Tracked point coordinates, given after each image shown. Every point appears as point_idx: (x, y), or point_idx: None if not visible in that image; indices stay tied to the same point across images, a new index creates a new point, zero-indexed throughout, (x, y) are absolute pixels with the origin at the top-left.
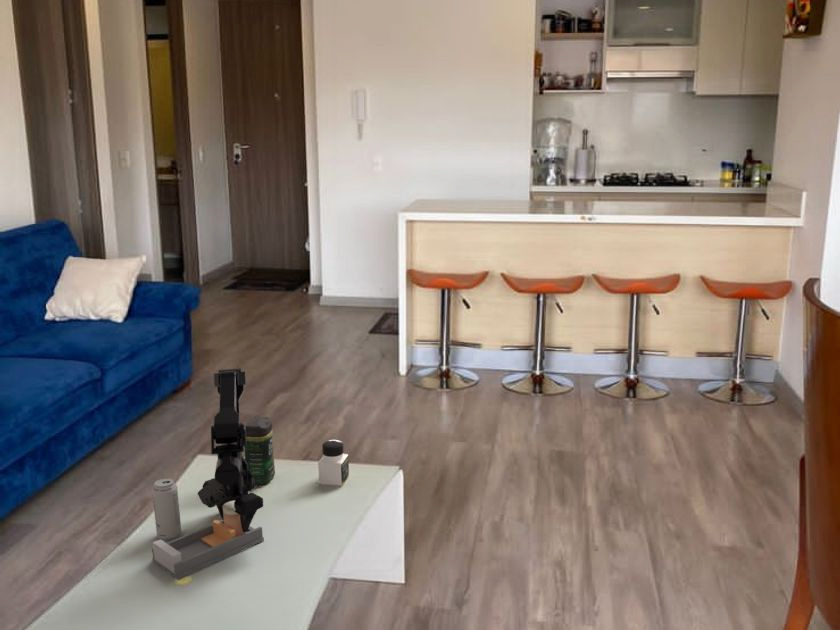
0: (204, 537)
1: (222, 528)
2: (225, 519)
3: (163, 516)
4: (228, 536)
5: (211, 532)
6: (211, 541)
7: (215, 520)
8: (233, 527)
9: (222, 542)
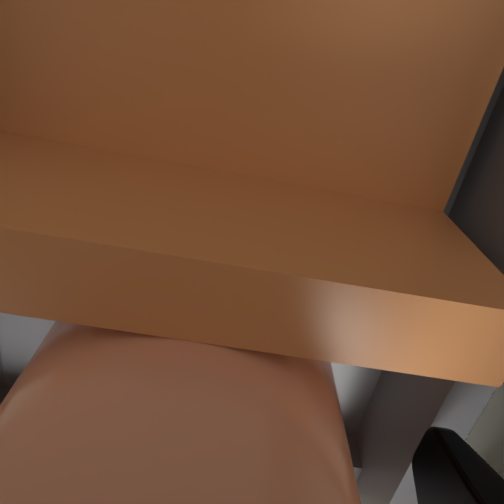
0: (490, 52)
1: (180, 241)
2: (167, 438)
3: None
4: (20, 173)
5: (475, 206)
6: (301, 19)
7: (496, 357)
8: (44, 353)
9: (134, 93)
